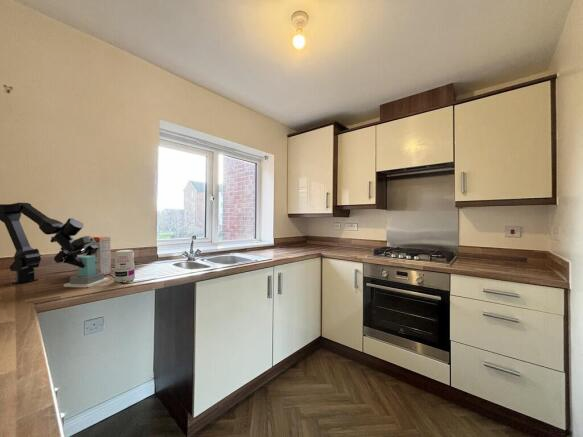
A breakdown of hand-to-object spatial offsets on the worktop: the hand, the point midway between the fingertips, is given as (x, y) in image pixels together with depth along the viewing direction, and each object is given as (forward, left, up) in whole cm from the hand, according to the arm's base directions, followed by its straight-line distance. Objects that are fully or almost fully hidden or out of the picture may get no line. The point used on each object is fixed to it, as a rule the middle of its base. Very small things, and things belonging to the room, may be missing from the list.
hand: (89, 265), depth 120 cm
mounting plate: (-1, 0, -9) cm, 9 cm away
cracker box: (-12, +15, -9) cm, 22 cm away
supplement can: (+13, +7, -9) cm, 17 cm away
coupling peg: (-1, 0, -8) cm, 8 cm away
